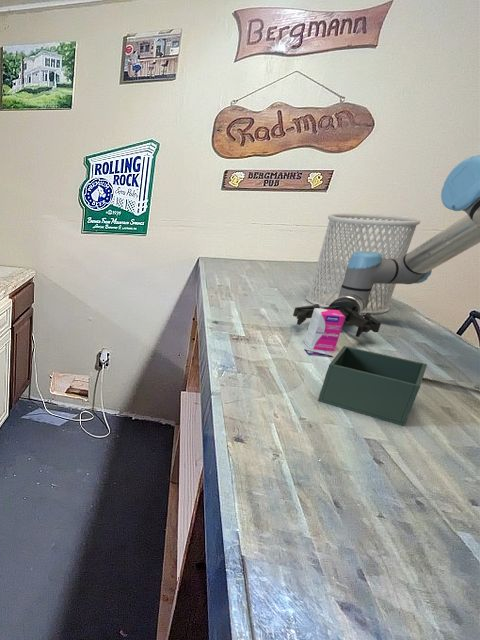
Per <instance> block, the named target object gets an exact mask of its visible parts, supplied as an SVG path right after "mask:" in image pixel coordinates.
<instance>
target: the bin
mask: <svg viewBox="0 0 480 640" xmlns="http://www.w3.org/2000/svg"><path fill="white" fill-rule="evenodd" d="M427 367H428V364H427V363H424V362H419V361H414V360H410V359H406V358H401V357H396V356H392V355H387V354H383V353H378V352H373V351H368V350H364V349H360V348H356V347H351V346H347V345H343V346H342V347H341V349H340V351H338V353H337V354H336V355H335V357H334V358H333V359H332V360H331V361H330V363H329V364H328V367H327V370H326V373H325V377H324V380H323V383H322V386H321V389H320V393H319V396H318V399H317V401H318V402H321V403H324V404H327V405H331V406H334V407H338V408H340V409H344V410H348V411H351V412H355V413H358V414H361V415H364V416H367V417H368V416H369V417H372V418H375V419H378V420H382V421H385V422H389V423H393V424H397V425H398V426H399V425H400V426H403V427H404V426H405V424H406V423H407V420H408V418H409V415H410V414H411V413H410V412H411V410H412V408H413V405H414V403H415V400H416V398H417V395H418V394H419V391H420V388H421V385H422V382H423V379H424V376H425V373H426V369H427Z"/></svg>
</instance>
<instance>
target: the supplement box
mask: <svg viewBox="0 0 480 640" xmlns="http://www.w3.org/2000/svg"><path fill="white" fill-rule="evenodd" d="M321 308H322V307H320V308H314V311H313V314H312V318H310V320H309V321H310V322H309V325H308V328H307V331H306V334H305V337H304V344H305V345H306V346H307V348H308V349H307V348H306V349H305V348H304V352H305V353H306V354H307V355H309V356H317V357H318V356H320V357H327V358H333V355H331V354H327V353H322V352H318V351H326V352H335V350H336V347H337V344H338V342H339V338H340V335H341V332H342V329H343V327H344V325H345V324H344V321H345V316H344V315H343V314H342V313H341V312H340V311H339V310H331V309H321ZM313 350H315V351H313Z"/></svg>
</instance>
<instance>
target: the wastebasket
mask: <svg viewBox="0 0 480 640" xmlns="http://www.w3.org/2000/svg"><path fill="white" fill-rule="evenodd" d="M327 219H328V223H327V228H326V231H325V235H324V238H323V242H322V245H321V249H320V252H319V257H318V260H317V263H316V267H315V271H314V274H313V278H312V281H311V285H310V289H309V292H308V295H306V297H305V299H306V301H307V302H309V303H310V304H311V305H315V304H319V305H320V308H323V307H328V306H329V305H330V304H331V303H332V302H333V301H334V300H336V299H337V298H338V296H339V292H340V289H341V286H342V284H343V281H344V277H345V274H346V270H347V265H348V263H349V260H350V258H351V256H352V254H353V253H354V252H356V251H367V250H368V251H371V252H377V253H381V254H382V259H398V258H401V257H403V256H404V255H406V254H408V251H409V248H410V245H411V242H412V239H413V236H414V234H415V231H416V228H417V226H418V225H420V224H421V219H419V218H417V217H410V216H402V215H394V214H393V215H391V214H379V213H352V212H351V213H350V212H348V213H346V212H345V213H331V214H329V215H328V216H327ZM357 229H358V230H357ZM363 229H364V230H365V231H364V232H363ZM370 229H371V232H369V230H370ZM377 229H378V231H377V232H376V230H377ZM383 230H384V232H383ZM389 231H390V233H389ZM358 235H359V237H358ZM364 236H366V237H364ZM371 236H373V238H372V239H371ZM378 237H379V238H378ZM377 238H378V239H377ZM384 238H385V239H384ZM353 242H354V243H353ZM359 242H360V243H359ZM366 242H367V245H366ZM373 243H374V244H373ZM372 244H373V245H372ZM379 244H380V245H379ZM341 258H342V259H341ZM332 269H333V270H332ZM337 269H338V271H337ZM343 269H344V272H343ZM333 275H334V276H333ZM338 275H339V277H338ZM334 280H335V283H334ZM339 282H340V283H339ZM396 285H397V284H373V287H372V289H371V292H370V295H369V302H368V305H367V307H366V308H365V309H364V310H363V311H361V313H360V314H359V315H363V314H366V313H370V314H371V315H378V314H385V313H387V312H388V311H389V310H390V306H389V305H390V302H391V299H392V297H393V293H394V291H395V288H396ZM329 287H331V288H329ZM335 287H336V288H335ZM334 288H335V289H334Z"/></svg>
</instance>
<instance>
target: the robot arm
mask: <svg viewBox="0 0 480 640" xmlns="http://www.w3.org/2000/svg"><path fill="white" fill-rule="evenodd" d="M440 198H441V203H442V205H443V206H444V207H445V208H446V209H448V210H449V211H450V210H451V211H454V212H461V211H463V212H465V213H466V214H467V215H465V216H463V217H461V218H460V219H458V220H457V221H456V222H453V224H451V225H449V226H448V227H445V229H443V230H442V231H440V232H439V233H437V234H435V235H434V236H433V237H431V238H429V239H428V240H426V241H425V242H423V243H421V244H420V245H418V246H417V247H415V248H414V249H412V250H411V251H409V252H407V254H406V255H404V256H403V257H401V258H398V257H397V258H398V259H388V258H386V259H382V253H380V252H378V253H377V252H375V251H372V252H371V251H369V250H366V251H362V250H360V251H356V250H355V251H356V252H355V251H354V253H353V252H352V256H351V258H350V257H349V258H350V260H349V262H348V263H347V270H346V274H345V275H344V276H343V278H344V281H343V284H342V286H341V288H340V289H339V290H340V292H339V296H338V298H337V299H336V300H334V301H333V302H332V303H331V304H330V305H329V306H328V307H320V305H319V304H315V305H314V304H311V305H303V306H296V307H294V309H293V314H292V316H293V317H296V319H297V322H296V325H297V326H300V325H302V324H303V323H304V322H305V321H307V319H311V318H312V314H313V311H314V308H321V309H331V310H339V311H340V312H341V313H342V314H343V315H344V316H345V321H344V324H343V325H345V324H347V325H353V326H355V327H357V330H356V333H355V337H356V338H360V336H361V335H362V334H363V333H369V332H370V331H371V332H373V333H379V331H380V328H381V324H382V323H381V322H380V321H379V320H377V319H376V318H375V317H374V316H372V314H370V313H366V314H360V313H361V311H363V310H364V309H365V308H366V307H367V305H368V302H369V298H370V297H369V295H370V292H371V289H373V288H374V285H375V284H396V285H413V284H421V283H424V282H425V281H427V280H428V278H429V277H430V276H431V274H432V271H433V270H434V269H436V268H437V267H439V266H441V265H443V264H444V263H446V262H449V261H450V260H452V259H453V258H455V257H457V256H459V255H460V254H462V253H464V252H466V251H468V250H469V249H471V248H473V247H474V246H477V245H478V244H480V154H475V155H472V156H470V157H467V158H465V159H463V160H462V161H460V162H458V164H457V165H456V166H455V167H454V168H452V170H451V171H450V172H449V173H448V175H447V176H446V178H445V180H444V182H443V186H442V188H441V192H440ZM373 284H374V285H373Z"/></svg>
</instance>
